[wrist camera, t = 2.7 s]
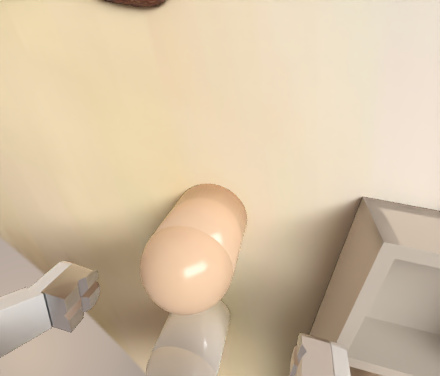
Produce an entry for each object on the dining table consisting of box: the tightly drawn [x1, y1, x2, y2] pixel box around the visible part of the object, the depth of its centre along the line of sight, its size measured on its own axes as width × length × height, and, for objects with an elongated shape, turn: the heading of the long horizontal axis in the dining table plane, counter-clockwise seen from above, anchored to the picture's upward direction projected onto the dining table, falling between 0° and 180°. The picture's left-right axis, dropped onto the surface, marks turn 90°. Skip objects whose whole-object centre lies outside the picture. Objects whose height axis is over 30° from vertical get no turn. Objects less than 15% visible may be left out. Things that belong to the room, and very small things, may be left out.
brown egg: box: [140, 184, 247, 315], centre depth 13 cm, size 4×4×6 cm
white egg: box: [146, 300, 230, 376], centre depth 17 cm, size 4×4×6 cm
